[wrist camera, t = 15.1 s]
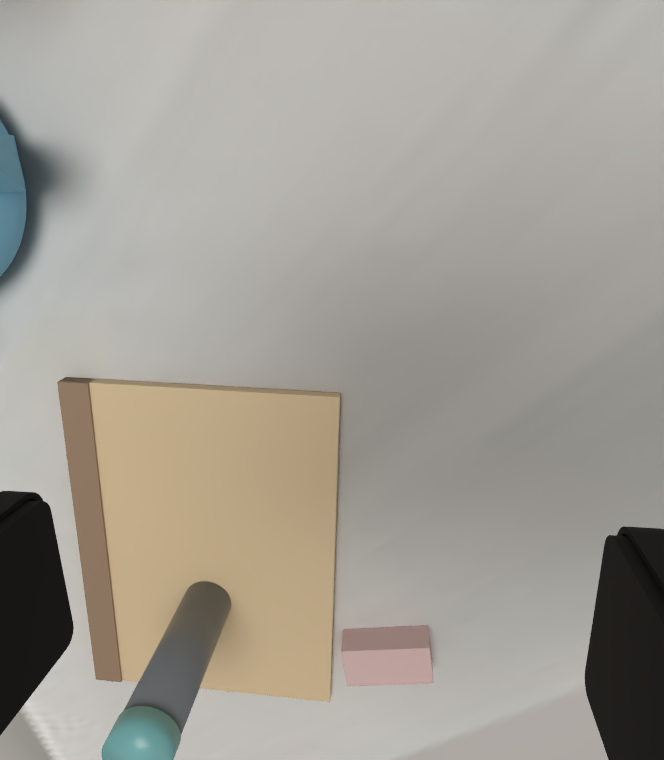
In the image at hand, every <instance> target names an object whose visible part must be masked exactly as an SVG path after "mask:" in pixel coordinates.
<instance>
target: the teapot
mask: <svg viewBox="0 0 664 760" xmlns="http://www.w3.org/2000/svg"><path fill="white" fill-rule="evenodd" d="M26 203H27V200H26V188H25V182H24V177H23V173H22V168H21V164H20V161H19V156H18V152H17V147H16V143H15V138H14V135H9V134H8V132H7V130H6V128H5V127H4V125H3V123H2V122H1V120H0V276H1V275H2V274H3V273H4V272H5V271H6V269H7V268H8V267H9V265H10V264H11V262H12V261H13V259H14V257H15V255H16V253H17V251H18V248H19V246H20V244H21V240H22V237H23V233H24V228H25V221H26Z"/></svg>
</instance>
